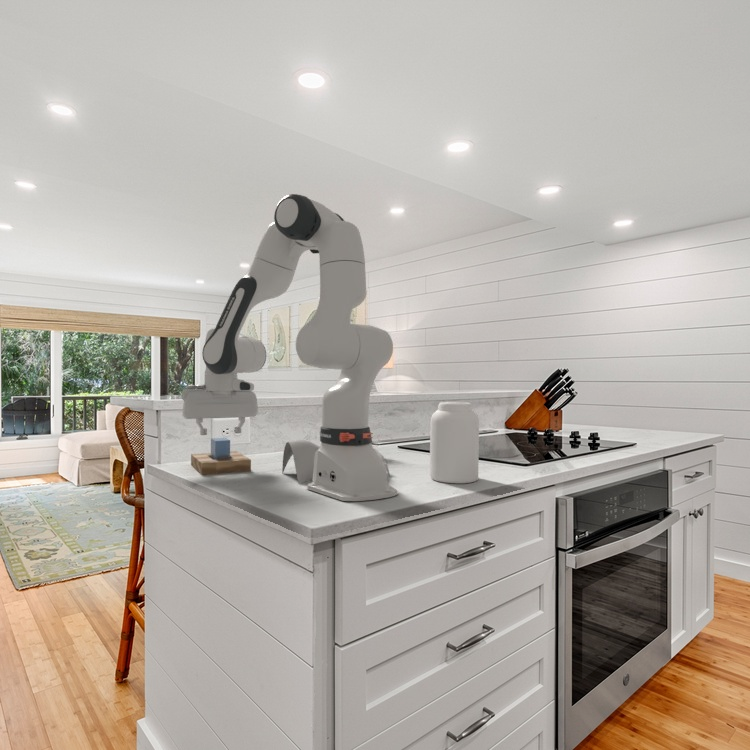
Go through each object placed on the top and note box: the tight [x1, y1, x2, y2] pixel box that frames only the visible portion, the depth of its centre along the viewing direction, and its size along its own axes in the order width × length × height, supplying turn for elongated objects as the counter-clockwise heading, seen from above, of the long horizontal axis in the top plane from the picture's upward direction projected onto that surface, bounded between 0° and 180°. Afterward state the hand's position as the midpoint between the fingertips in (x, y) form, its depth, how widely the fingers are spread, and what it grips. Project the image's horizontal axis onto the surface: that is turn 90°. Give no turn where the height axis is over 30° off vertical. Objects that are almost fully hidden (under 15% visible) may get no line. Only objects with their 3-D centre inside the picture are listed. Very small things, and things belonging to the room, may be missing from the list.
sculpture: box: [281, 439, 391, 485], centre depth 138 cm, size 25×19×10 cm
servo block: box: [210, 437, 231, 460], centre depth 145 cm, size 9×4×8 cm, turn 29°
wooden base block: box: [190, 450, 252, 475], centre depth 145 cm, size 16×13×3 cm
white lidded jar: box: [429, 401, 480, 485], centre depth 133 cm, size 12×12×20 cm
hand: (221, 434), depth 144 cm, fingers open, 8 cm apart
